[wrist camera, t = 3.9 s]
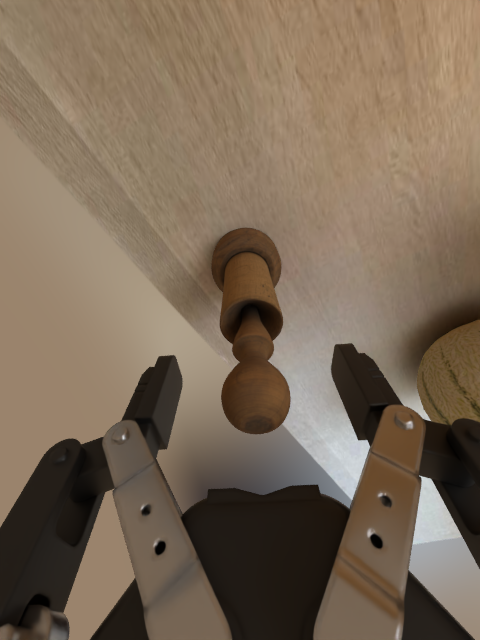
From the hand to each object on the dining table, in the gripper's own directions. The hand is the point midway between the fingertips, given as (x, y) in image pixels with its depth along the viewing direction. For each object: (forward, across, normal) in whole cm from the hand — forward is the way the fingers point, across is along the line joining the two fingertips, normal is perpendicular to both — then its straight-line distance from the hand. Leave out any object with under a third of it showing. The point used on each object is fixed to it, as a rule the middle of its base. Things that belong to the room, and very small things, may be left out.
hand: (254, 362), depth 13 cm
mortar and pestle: (+15, 0, 0) cm, 15 cm away
